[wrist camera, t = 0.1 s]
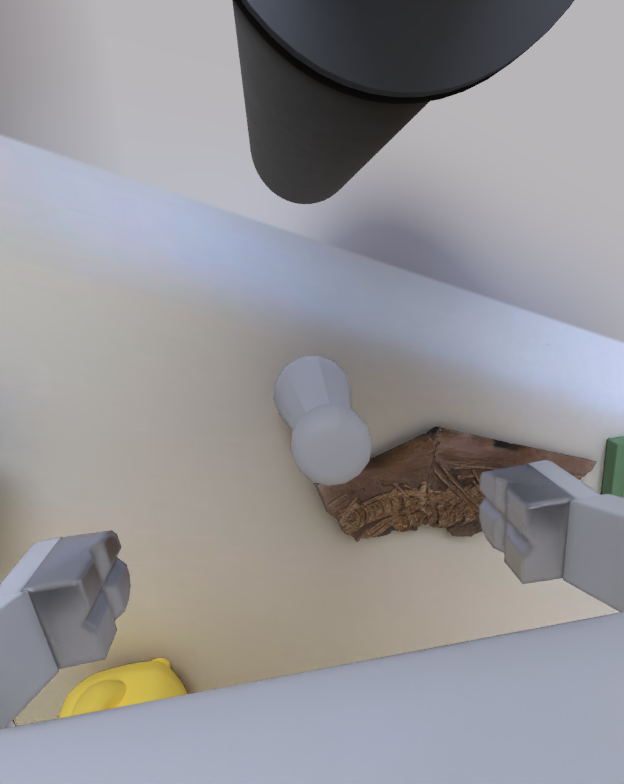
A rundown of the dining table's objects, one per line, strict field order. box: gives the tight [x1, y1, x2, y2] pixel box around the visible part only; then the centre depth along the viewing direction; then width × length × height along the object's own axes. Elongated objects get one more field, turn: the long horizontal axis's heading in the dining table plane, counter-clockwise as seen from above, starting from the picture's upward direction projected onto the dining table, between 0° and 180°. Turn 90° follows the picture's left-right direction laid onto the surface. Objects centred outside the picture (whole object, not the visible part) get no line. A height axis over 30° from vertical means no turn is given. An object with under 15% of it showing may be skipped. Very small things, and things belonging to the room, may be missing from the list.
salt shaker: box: [274, 355, 372, 486], centre depth 27 cm, size 6×6×13 cm
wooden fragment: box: [314, 427, 596, 542], centre depth 37 cm, size 26×11×1 cm, turn 89°
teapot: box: [58, 658, 187, 718], centre depth 36 cm, size 18×11×11 cm, turn 11°
